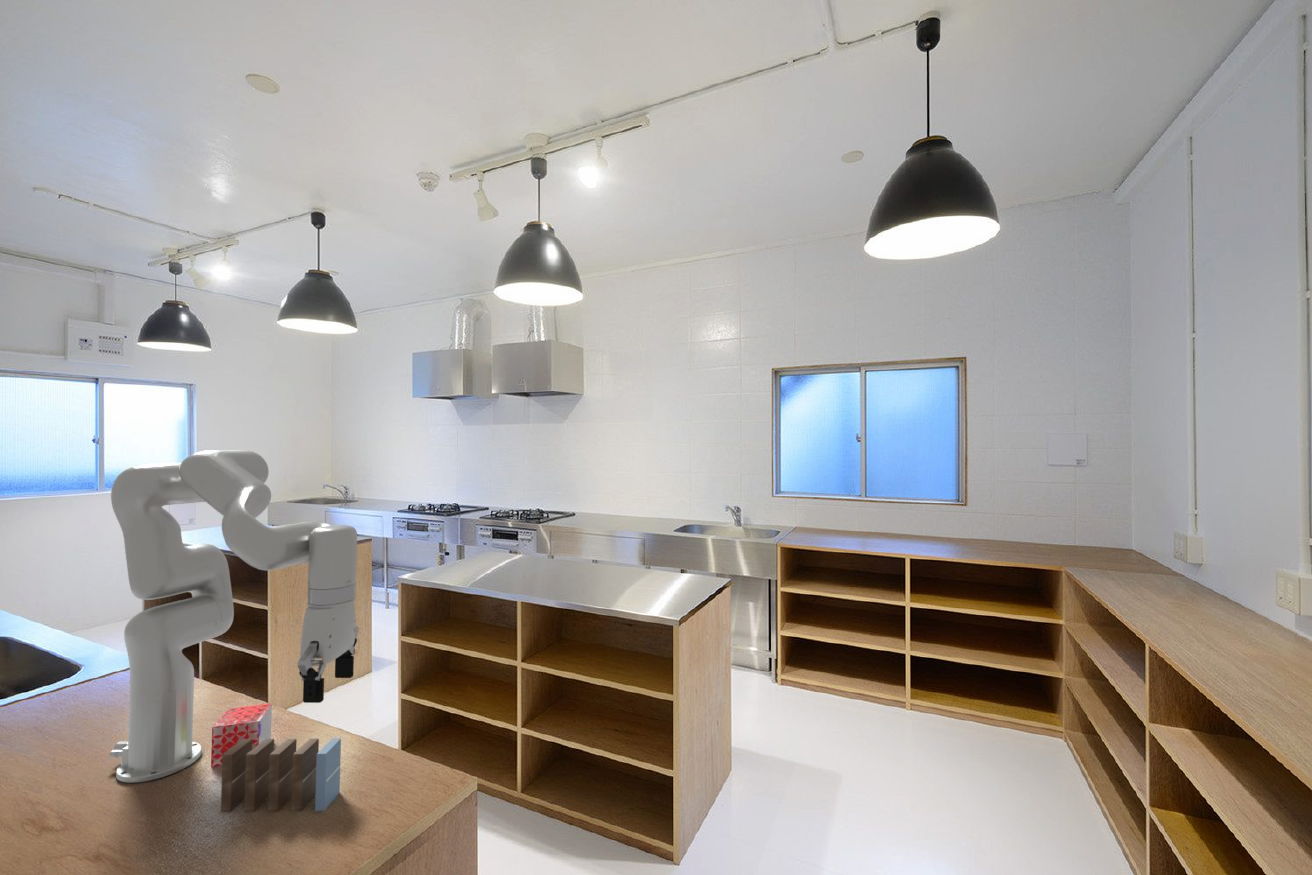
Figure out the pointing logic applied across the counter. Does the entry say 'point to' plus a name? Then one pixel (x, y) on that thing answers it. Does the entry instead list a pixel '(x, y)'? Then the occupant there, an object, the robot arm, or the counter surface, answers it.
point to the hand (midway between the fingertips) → (329, 688)
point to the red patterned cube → (240, 729)
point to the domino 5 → (328, 774)
